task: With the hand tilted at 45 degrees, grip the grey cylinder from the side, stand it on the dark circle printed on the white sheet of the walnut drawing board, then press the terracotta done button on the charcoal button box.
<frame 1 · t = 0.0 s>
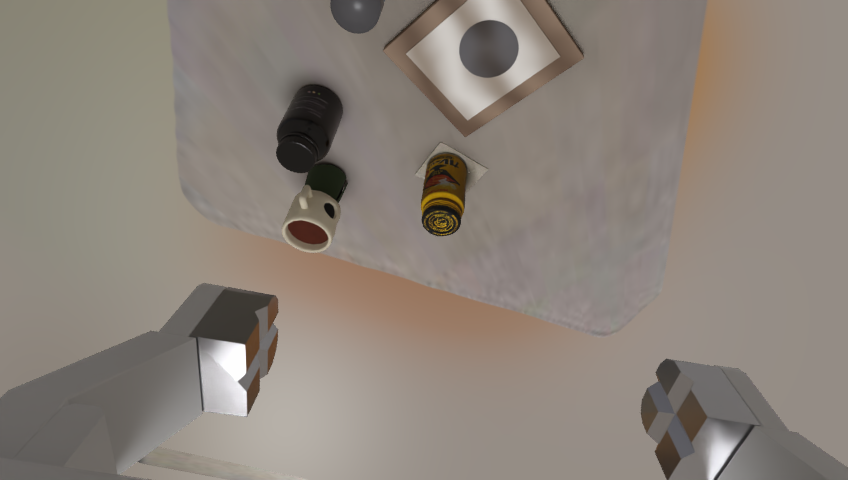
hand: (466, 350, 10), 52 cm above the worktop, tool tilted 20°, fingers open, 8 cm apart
character mug: (328, 176, 76), on the worktop
condiment: (451, 170, 73), on the worktop
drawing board: (482, 50, 59), on the worktop
supplement bottle: (319, 104, 67), on the worktop
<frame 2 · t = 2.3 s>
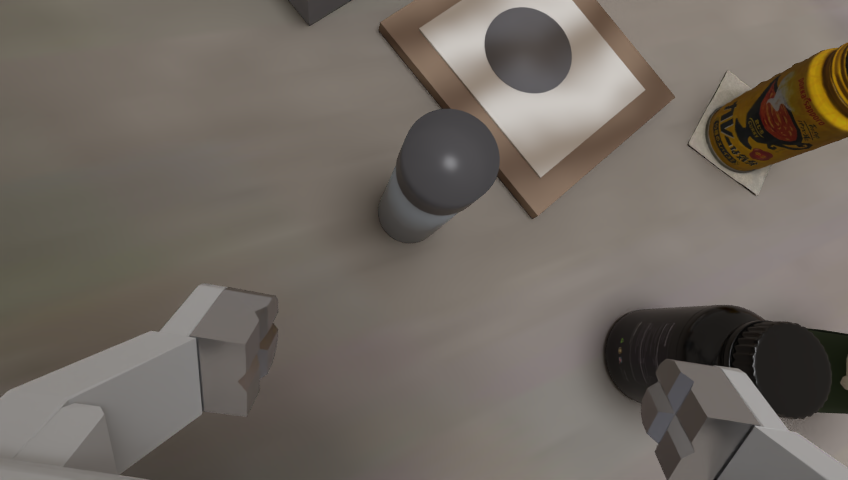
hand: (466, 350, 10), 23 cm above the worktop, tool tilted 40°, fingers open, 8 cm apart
character mug: (786, 366, 38), on the worktop
condiment: (738, 133, 41), on the worktop
grey cylinder: (409, 212, 34), on the worktop
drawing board: (530, 68, 38), on the worktop
supplement bottle: (641, 354, 36), on the worktop
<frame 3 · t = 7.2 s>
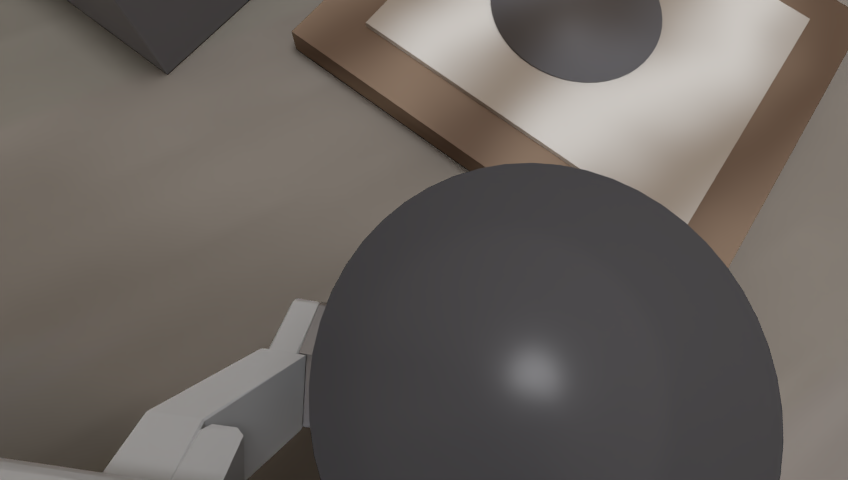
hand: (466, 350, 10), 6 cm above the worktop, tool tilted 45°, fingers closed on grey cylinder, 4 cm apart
grey cylinder: (434, 381, 16), on the worktop, touching gripper
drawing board: (585, 40, 20), on the worktop
when the fingers open (9 cm above the worktop, at t = 13.3 s): grey cylinder drops 1 cm, resting on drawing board.
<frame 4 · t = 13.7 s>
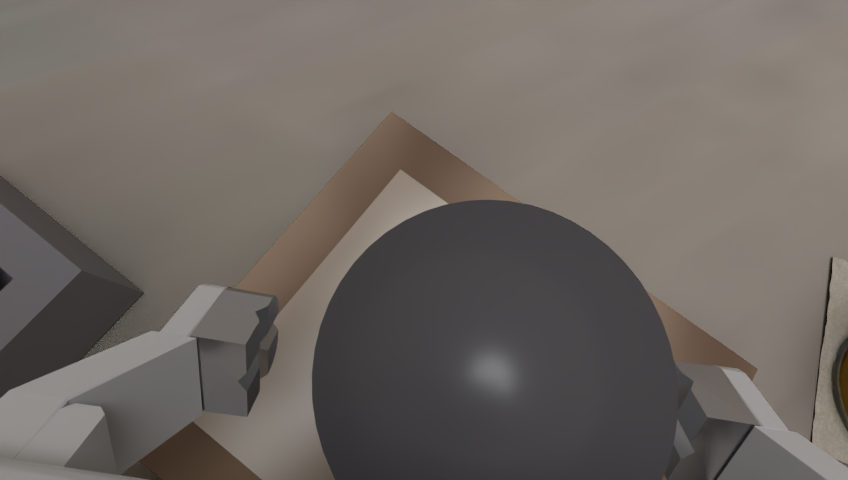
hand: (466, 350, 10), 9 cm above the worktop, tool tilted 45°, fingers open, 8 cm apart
grey cylinder: (428, 381, 17), point 1 cm above the worktop, touching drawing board
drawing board: (449, 397, 19), on the worktop
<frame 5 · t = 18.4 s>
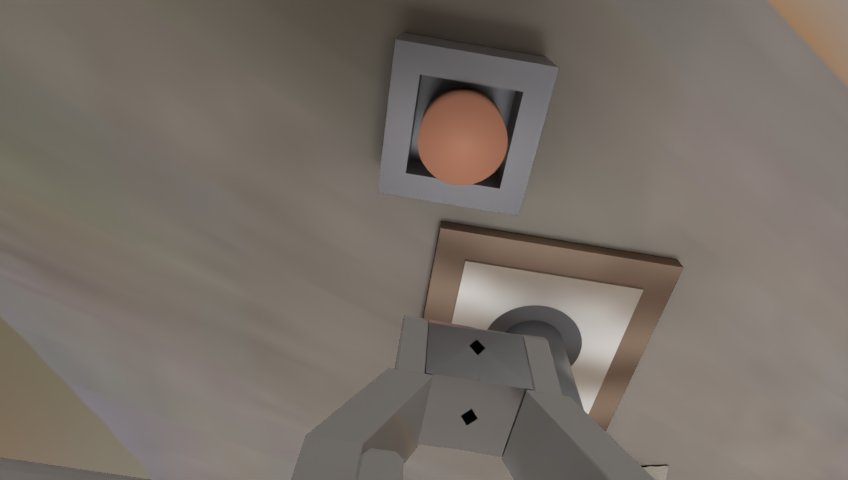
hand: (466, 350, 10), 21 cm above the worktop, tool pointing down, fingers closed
button box: (460, 116, 29), on the worktop
done button: (461, 136, 25), point 4 cm above the worktop, slide at 0.0 cm
grey cylinder: (531, 345, 35), point 1 cm above the worktop, touching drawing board
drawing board: (525, 345, 36), on the worktop
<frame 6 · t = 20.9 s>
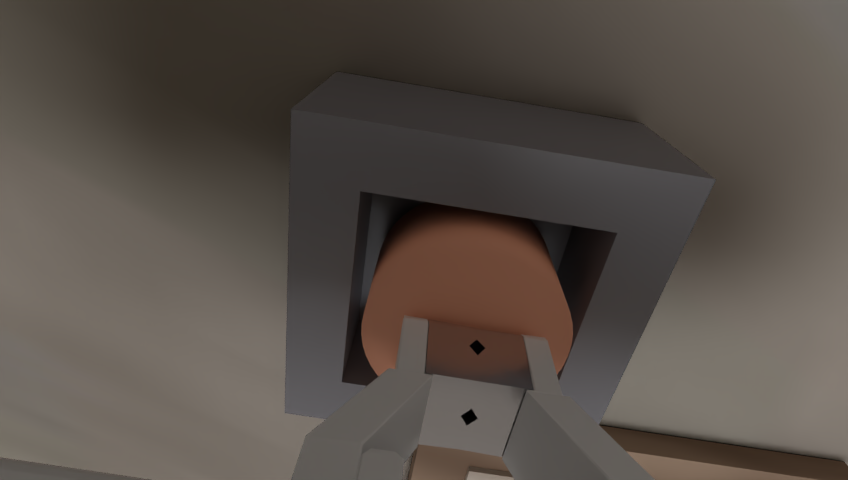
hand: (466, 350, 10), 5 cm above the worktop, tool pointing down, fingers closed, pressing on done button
button box: (461, 232, 14), on the worktop
done button: (464, 303, 11), point 4 cm above the worktop, slide at 0.8 cm, touching gripper
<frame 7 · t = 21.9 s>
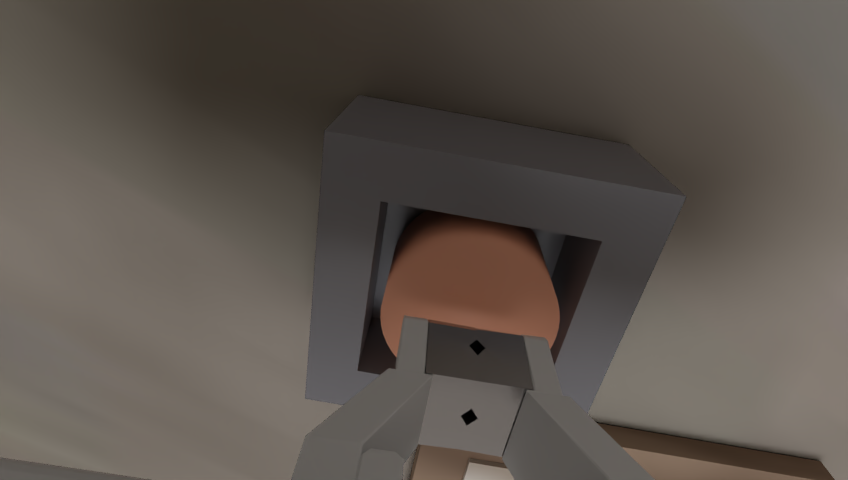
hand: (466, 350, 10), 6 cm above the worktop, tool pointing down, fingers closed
button box: (466, 240, 16), on the worktop
done button: (467, 293, 13), point 3 cm above the worktop, slide at 1.2 cm
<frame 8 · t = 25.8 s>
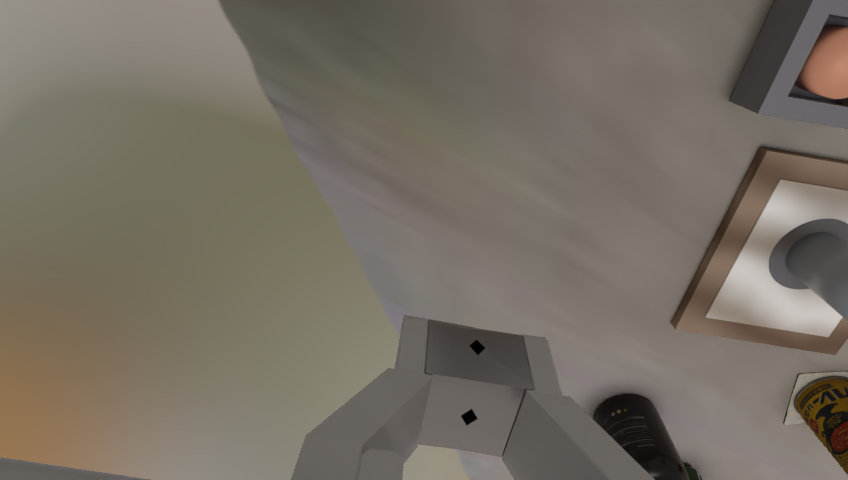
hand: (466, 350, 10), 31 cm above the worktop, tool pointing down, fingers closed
button box: (806, 55, 35), on the worktop
character mug: (670, 476, 58), on the worktop
done button: (836, 61, 33), point 3 cm above the worktop, slide at 1.2 cm
condiment: (831, 395, 51), on the worktop
grey cylinder: (813, 254, 42), point 1 cm above the worktop, touching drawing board
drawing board: (797, 257, 43), on the worktop
supplement bottle: (623, 413, 54), on the worktop
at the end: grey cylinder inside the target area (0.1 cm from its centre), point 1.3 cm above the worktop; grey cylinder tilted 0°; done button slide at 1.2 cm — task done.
